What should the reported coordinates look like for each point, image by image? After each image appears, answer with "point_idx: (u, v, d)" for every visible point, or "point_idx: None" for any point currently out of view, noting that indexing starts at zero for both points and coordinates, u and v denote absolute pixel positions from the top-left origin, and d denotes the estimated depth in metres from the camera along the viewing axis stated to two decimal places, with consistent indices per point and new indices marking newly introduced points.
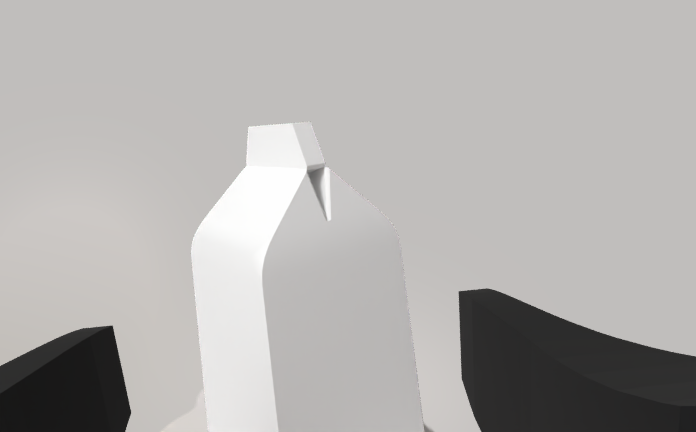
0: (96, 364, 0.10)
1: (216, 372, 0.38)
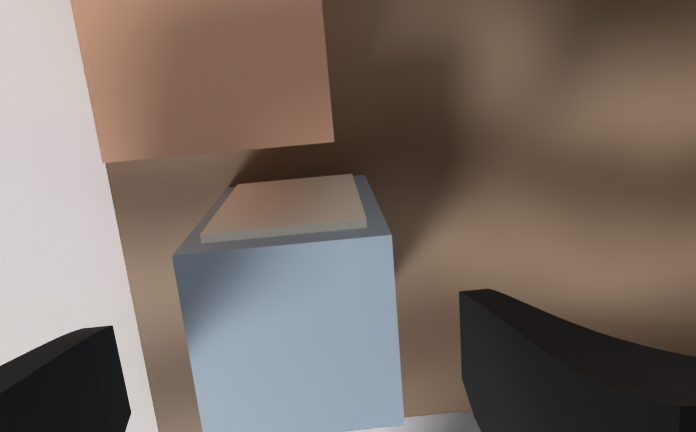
0: (96, 364, 0.10)
1: None
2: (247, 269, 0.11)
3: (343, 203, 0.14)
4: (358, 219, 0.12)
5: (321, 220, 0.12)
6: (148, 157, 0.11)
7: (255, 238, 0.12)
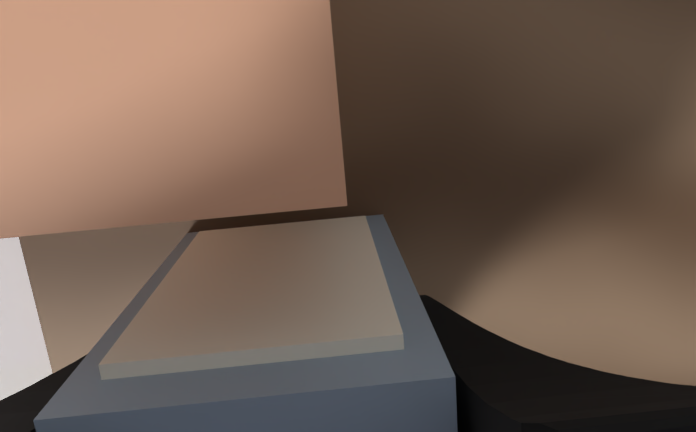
0: None
1: None
2: None
3: (357, 285, 0.08)
4: (388, 334, 0.07)
5: (321, 333, 0.07)
6: None
7: (201, 370, 0.07)
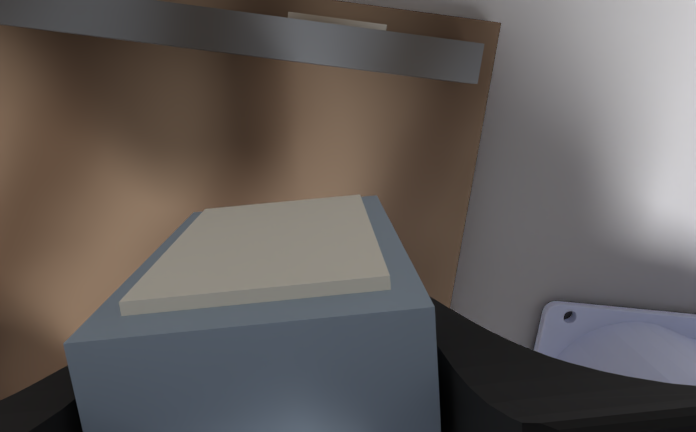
0: None
1: None
2: (192, 366, 0.07)
3: (351, 244, 0.09)
4: (377, 276, 0.07)
5: (317, 277, 0.08)
6: None
7: (209, 307, 0.07)
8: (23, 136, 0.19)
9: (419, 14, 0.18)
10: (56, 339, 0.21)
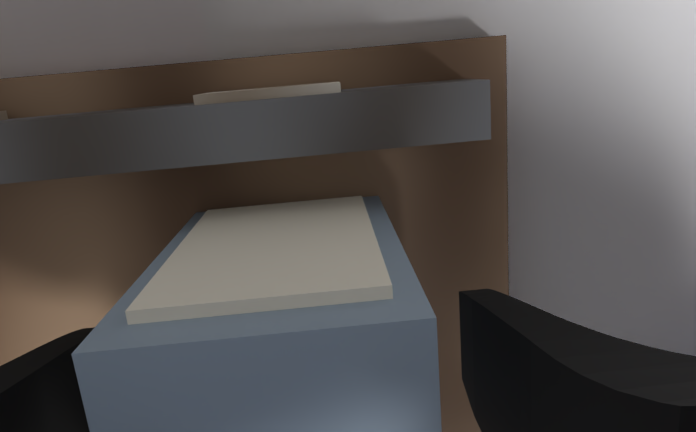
0: None
1: None
2: (197, 375, 0.07)
3: (353, 250, 0.09)
4: (379, 285, 0.07)
5: (320, 286, 0.08)
6: None
7: (214, 316, 0.07)
8: None
9: (387, 49, 0.13)
10: None
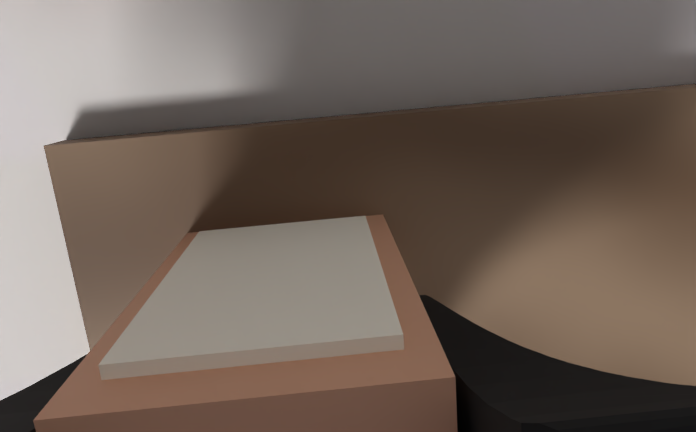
0: None
1: None
2: None
3: None
4: None
5: None
6: None
7: None
8: None
9: None
10: (495, 250, 0.13)
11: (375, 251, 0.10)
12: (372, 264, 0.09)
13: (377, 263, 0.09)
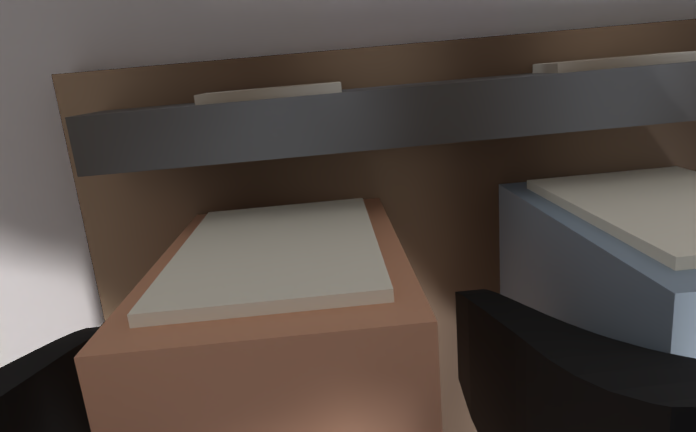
0: None
1: None
2: None
3: None
4: None
5: None
6: None
7: None
8: None
9: None
10: None
11: (371, 226, 0.10)
12: (368, 236, 0.10)
13: (372, 235, 0.10)
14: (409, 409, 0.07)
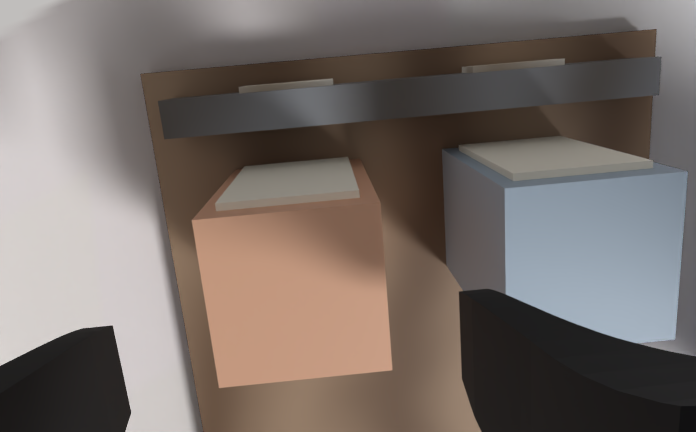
0: (96, 364, 0.10)
1: None
2: (564, 201, 0.13)
3: (603, 153, 0.16)
4: (645, 161, 0.14)
5: (610, 162, 0.14)
6: (253, 384, 0.14)
7: (559, 177, 0.14)
8: None
9: (578, 38, 0.19)
10: (283, 400, 0.22)
11: (351, 168, 0.17)
12: (348, 172, 0.16)
13: (351, 172, 0.16)
14: (366, 252, 0.13)
